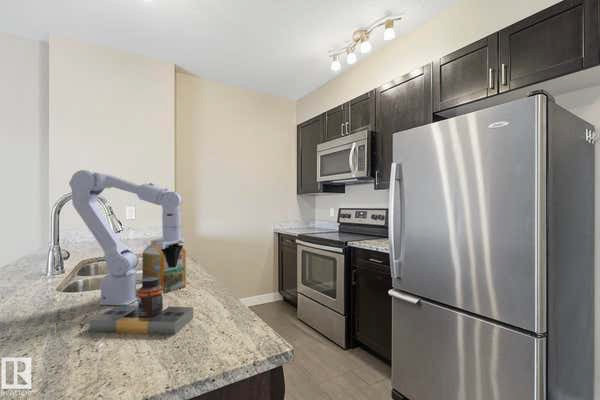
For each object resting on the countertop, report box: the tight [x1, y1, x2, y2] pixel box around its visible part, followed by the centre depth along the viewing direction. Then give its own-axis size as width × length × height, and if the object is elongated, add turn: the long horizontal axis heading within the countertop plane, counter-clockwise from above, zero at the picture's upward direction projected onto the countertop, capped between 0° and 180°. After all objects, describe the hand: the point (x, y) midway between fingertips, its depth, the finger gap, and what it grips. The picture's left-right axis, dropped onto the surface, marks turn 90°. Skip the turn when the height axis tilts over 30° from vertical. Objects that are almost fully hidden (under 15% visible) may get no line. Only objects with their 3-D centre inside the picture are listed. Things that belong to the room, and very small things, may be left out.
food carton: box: [141, 238, 187, 295], centre depth 106 cm, size 11×11×19 cm
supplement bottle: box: [137, 277, 164, 318], centre depth 78 cm, size 6×6×11 cm
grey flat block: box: [88, 305, 194, 335], centre depth 75 cm, size 22×10×3 cm, turn 86°
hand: (172, 267), depth 96 cm, fingers closed
